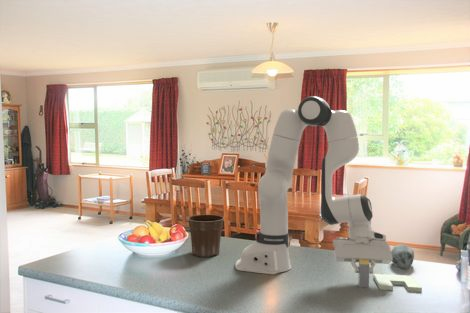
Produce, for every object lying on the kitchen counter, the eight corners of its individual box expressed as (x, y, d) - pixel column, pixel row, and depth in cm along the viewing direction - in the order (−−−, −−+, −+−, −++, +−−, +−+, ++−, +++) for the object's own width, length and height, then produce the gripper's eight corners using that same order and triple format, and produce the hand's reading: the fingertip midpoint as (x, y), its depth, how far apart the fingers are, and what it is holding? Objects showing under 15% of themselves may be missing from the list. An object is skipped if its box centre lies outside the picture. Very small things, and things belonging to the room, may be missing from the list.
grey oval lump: (418, 264, 167) (407, 240, 170) (395, 273, 170) (384, 249, 173) (420, 263, 179) (409, 240, 183) (398, 271, 182) (387, 248, 186)
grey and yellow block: (359, 286, 152) (360, 261, 152) (358, 283, 156) (358, 259, 155) (368, 287, 152) (369, 262, 151) (367, 284, 155) (368, 259, 155)
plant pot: (187, 248, 199) (187, 214, 198) (222, 247, 201) (222, 213, 200) (187, 259, 183) (187, 221, 182) (225, 258, 185) (225, 221, 184)
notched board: (379, 289, 150) (379, 285, 150) (373, 277, 162) (373, 273, 162) (421, 291, 148) (421, 287, 148) (412, 279, 160) (412, 275, 160)
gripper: (333, 232, 161) (334, 266, 152) (390, 235, 158) (395, 270, 149) (332, 241, 166) (333, 274, 157) (387, 244, 163) (392, 278, 154)
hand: (364, 272), depth 153 cm, fingers closed on grey and yellow block, 3 cm apart
